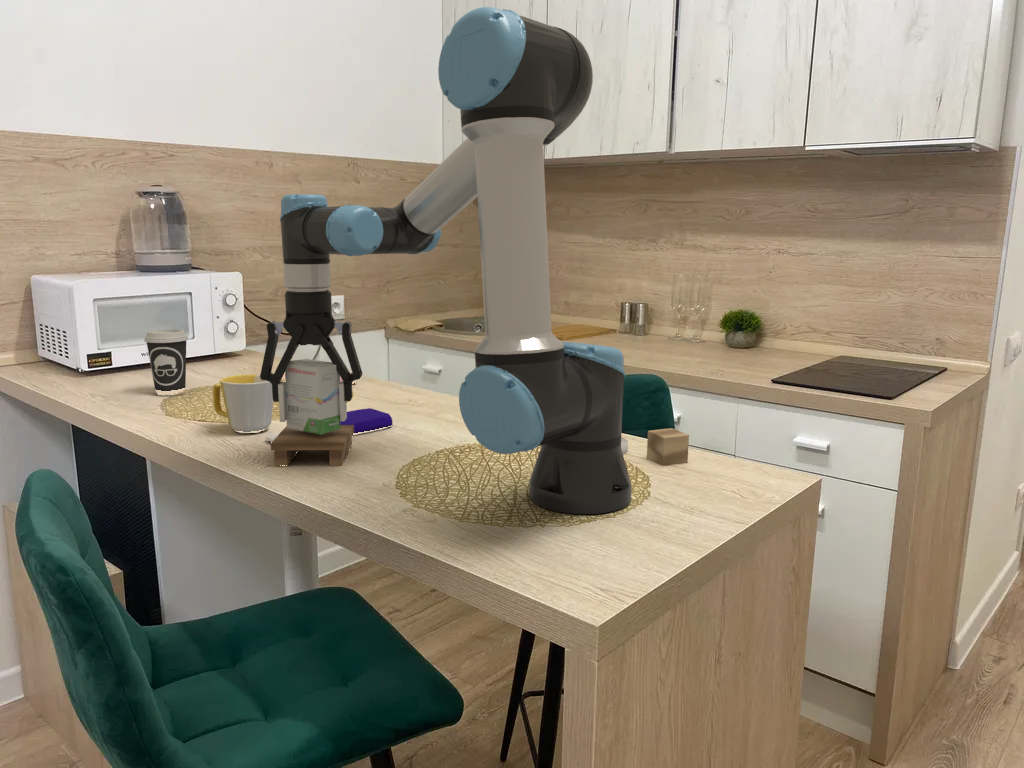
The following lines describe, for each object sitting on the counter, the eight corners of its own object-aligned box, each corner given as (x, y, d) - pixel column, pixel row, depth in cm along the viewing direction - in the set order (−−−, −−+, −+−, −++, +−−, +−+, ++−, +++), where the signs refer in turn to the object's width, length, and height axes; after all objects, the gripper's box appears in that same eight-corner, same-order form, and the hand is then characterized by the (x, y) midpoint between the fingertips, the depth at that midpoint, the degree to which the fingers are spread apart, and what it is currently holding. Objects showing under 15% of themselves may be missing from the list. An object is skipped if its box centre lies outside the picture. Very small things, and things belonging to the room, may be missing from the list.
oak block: (687, 463, 132) (689, 435, 131) (663, 466, 130) (664, 437, 129) (670, 455, 136) (671, 428, 135) (646, 458, 134) (647, 430, 133)
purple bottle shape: (367, 406, 161) (256, 427, 144) (397, 415, 153) (283, 438, 137) (368, 419, 161) (257, 442, 145) (398, 429, 154) (284, 454, 137)
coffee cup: (200, 392, 185) (196, 330, 182) (164, 399, 177) (159, 334, 174) (176, 387, 190) (171, 327, 187) (140, 394, 182) (134, 331, 179)
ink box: (285, 428, 133) (282, 361, 130) (308, 422, 137) (304, 357, 135) (321, 435, 128) (318, 366, 126) (343, 429, 133) (340, 361, 130)
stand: (345, 465, 128) (344, 442, 127) (272, 466, 127) (270, 443, 127) (354, 446, 140) (354, 424, 139) (287, 446, 139) (286, 425, 138)
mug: (289, 429, 151) (286, 377, 149) (244, 440, 143) (241, 385, 141) (246, 419, 159) (243, 369, 157) (202, 429, 151) (198, 377, 149)
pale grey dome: (632, 458, 135) (632, 447, 135) (581, 458, 134) (582, 447, 134) (621, 444, 144) (622, 434, 143) (574, 444, 143) (574, 434, 143)
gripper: (377, 287, 132) (380, 414, 137) (246, 287, 131) (254, 415, 135) (372, 291, 125) (376, 424, 129) (233, 291, 124) (242, 425, 128)
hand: (313, 419), depth 132 cm, fingers closed on ink box, 9 cm apart
